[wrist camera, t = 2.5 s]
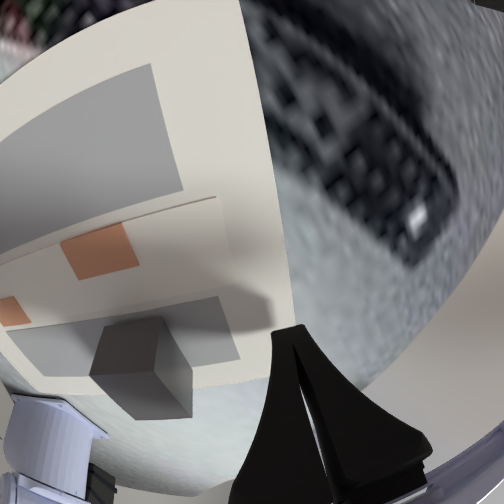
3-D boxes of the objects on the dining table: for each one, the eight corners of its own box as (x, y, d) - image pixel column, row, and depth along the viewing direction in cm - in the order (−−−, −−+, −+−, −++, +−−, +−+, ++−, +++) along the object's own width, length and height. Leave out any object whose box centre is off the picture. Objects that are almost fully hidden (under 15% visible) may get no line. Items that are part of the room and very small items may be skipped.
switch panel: (44, 378, 16) (38, 394, 15) (-73, 177, 7) (-90, 187, 5) (294, 350, 16) (301, 372, 15) (231, -3, 7) (234, -20, 5)
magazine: (106, 485, 35) (91, 534, 20) (85, 445, 34) (59, 499, 19) (122, 488, 36) (109, 539, 21) (102, 448, 34) (79, 506, 20)
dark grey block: (141, 376, 13) (135, 420, 11) (104, 326, 11) (88, 375, 9) (192, 370, 13) (192, 417, 11) (161, 316, 11) (153, 371, 9)
